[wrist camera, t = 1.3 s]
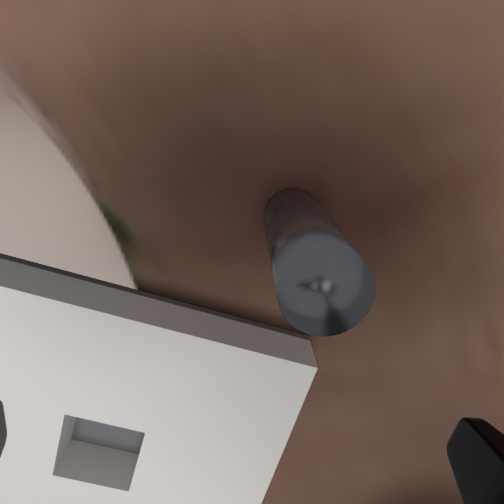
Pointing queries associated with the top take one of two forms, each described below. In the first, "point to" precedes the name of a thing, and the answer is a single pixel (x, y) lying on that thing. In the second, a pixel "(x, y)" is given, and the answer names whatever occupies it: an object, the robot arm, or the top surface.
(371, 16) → the top surface
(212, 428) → the bore board
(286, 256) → the steel pin
